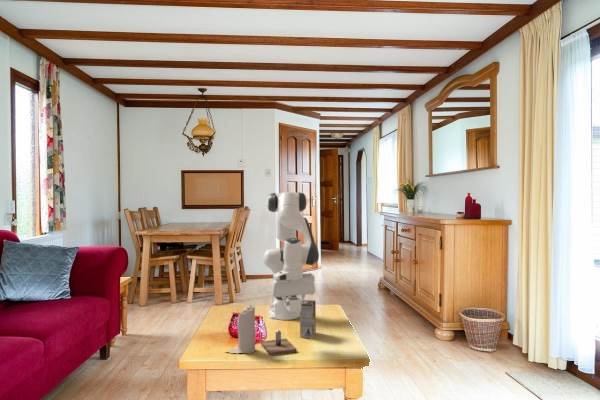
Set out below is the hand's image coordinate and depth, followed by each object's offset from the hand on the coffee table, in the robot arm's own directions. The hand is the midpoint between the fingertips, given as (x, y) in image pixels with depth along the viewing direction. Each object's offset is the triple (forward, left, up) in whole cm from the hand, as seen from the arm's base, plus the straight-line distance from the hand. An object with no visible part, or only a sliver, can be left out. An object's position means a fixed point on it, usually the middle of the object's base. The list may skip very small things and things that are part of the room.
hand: (293, 305), depth 191 cm
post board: (+1, -7, -18) cm, 20 cm away
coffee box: (-12, +12, -19) cm, 25 cm away
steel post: (+1, -7, -17) cm, 19 cm away
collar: (0, 0, -2) cm, 2 cm away
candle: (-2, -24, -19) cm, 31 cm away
